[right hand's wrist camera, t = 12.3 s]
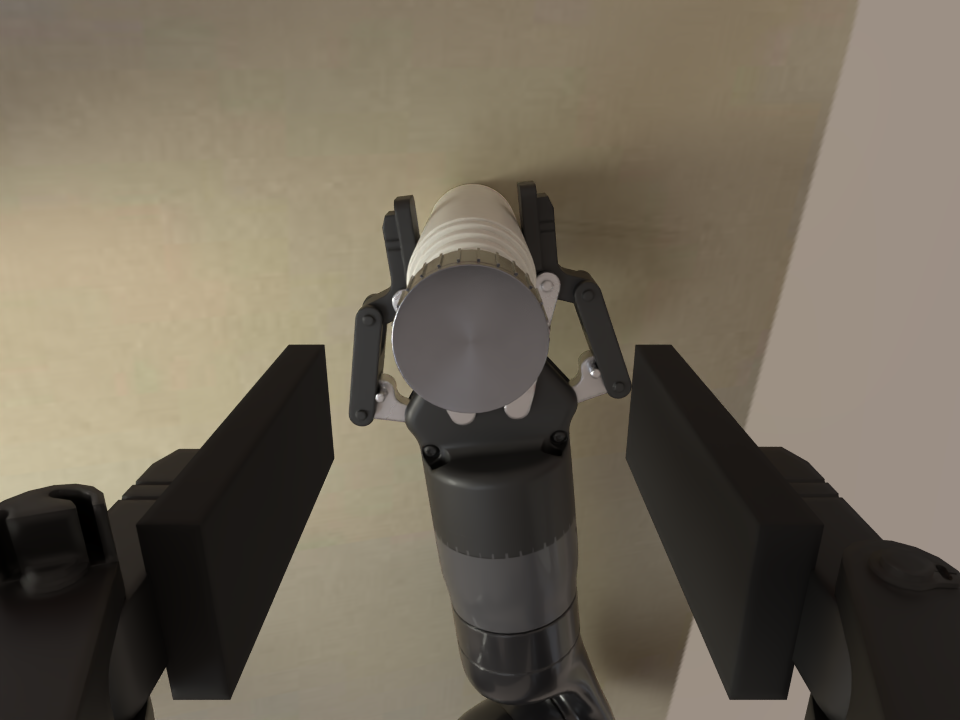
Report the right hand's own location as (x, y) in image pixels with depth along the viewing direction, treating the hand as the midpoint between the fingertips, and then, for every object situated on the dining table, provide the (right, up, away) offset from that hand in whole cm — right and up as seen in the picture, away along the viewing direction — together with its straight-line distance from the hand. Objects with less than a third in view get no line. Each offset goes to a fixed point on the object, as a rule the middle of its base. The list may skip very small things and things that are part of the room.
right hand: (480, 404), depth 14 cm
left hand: (-1, +8, +14) cm, 17 cm away
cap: (0, +2, +4) cm, 4 cm away
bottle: (0, +8, +21) cm, 23 cm away
